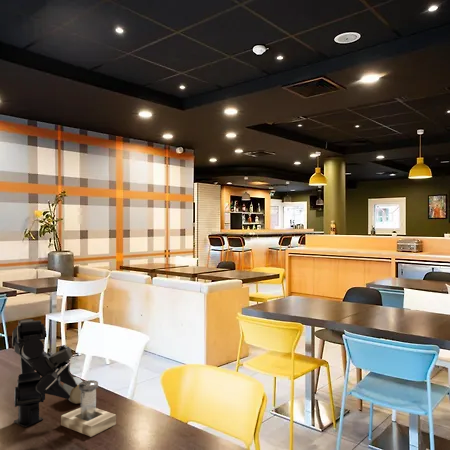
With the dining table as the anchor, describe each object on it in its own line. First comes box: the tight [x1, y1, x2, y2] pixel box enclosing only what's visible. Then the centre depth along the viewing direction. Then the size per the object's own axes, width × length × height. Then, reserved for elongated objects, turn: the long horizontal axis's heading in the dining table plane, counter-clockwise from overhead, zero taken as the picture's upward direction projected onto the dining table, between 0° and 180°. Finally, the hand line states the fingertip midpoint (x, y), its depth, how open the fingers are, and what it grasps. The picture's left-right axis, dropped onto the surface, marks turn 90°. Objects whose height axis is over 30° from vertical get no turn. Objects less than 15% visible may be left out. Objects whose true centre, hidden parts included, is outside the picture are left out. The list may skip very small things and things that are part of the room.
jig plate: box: [60, 407, 117, 438], centre depth 134 cm, size 14×10×3 cm
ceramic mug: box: [62, 376, 83, 405], centre depth 154 cm, size 11×8×8 cm
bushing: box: [79, 380, 99, 421], centre depth 134 cm, size 6×6×13 cm
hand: (72, 392), depth 134 cm, fingers open, 9 cm apart
